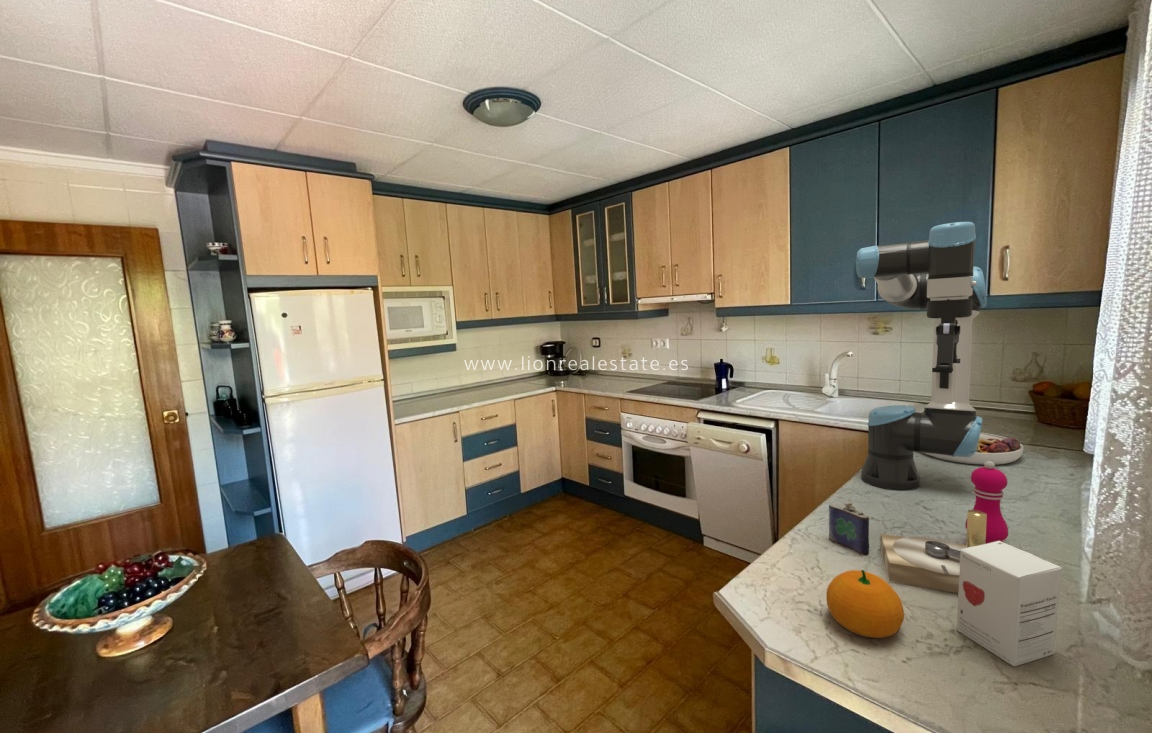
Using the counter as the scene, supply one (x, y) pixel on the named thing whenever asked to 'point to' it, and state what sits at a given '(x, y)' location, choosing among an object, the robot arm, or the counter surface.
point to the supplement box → (1008, 601)
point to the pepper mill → (990, 500)
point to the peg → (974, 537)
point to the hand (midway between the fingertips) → (945, 397)
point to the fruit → (865, 604)
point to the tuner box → (919, 563)
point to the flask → (849, 528)
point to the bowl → (989, 451)
